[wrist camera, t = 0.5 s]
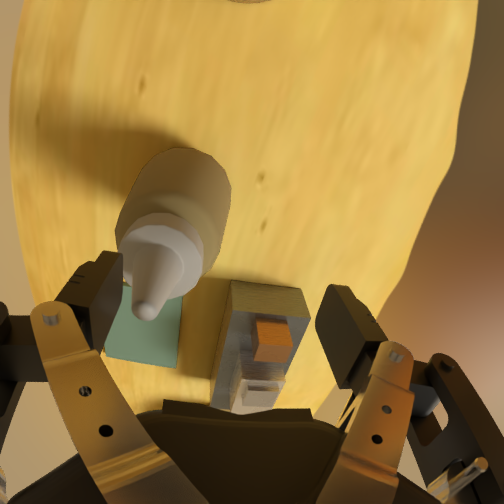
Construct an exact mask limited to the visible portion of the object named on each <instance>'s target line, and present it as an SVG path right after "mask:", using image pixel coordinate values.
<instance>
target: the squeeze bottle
mask: <svg viewBox="0 0 504 504" xmlns="http://www.w3.org/2000/svg"><path fill="white" fill-rule="evenodd" d="M230 202H231V185H230V183H229V180H228V177H227V175H226V172H225V170H224V169H223V168H222V167H221V166H220V165H219V163H218V162H217V161H216V160H215V159H214V158H213V157H212V156H210V155H208V154H206V153H203V152H201V151H199V150H196V149H194V148H172V149H169V150H167V151H164V152H162V153H160V154H157V155H155V156H154V157H153V158H152V159H151V160H150V161H149V162H148V163H147V164H146V165H145V166H144V167H143V168H142V170H141V172H140V174H139V176H138V178H137V179H136V181H135V183H134V185H133V187H132V189H131V191H130V193H129V195H128V197H127V199H126V201H125V204H124V206H123V208H122V210H121V212H120V215H119V218H118V221H117V225H116V228H115V236H116V244H117V250H118V252H117V253H122V254H123V277H124V279H125V281H126V282H127V283H128V284H129V285H130V286H131V287H132V301H131V309H132V313H133V314H134V316H135V317H137V318H138V319H140V320H143V321H151V320H153V319H155V318H156V317H157V315H158V313H159V312H160V310H161V309H162V307H163V305H164V304H165V302H166V300H167V299H172V298H176V297H179V296H182V295H185V294H186V293H187V292H189V291H190V290H191V289H192V288H194V287H195V286H196V284H197V282H198V280H199V278H200V277H201V276H203V275H204V274H205V273H206V272H208V271H209V270H210V269H211V268H212V266H213V264H214V262H215V260H216V258H217V256H218V254H219V252H220V248H221V244H222V239H223V235H224V230H225V226H226V222H227V218H228V213H229V209H230Z"/></svg>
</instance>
